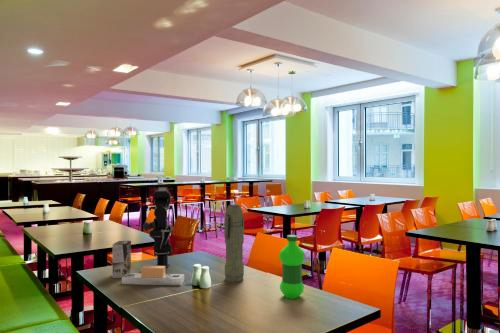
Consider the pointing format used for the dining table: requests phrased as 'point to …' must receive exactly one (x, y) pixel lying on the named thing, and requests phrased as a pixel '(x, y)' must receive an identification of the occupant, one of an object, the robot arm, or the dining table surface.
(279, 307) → the dining table surface
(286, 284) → the plastic bottle
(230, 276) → the thermos
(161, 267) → the tapered peach wedge
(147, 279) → the rail
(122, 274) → the coffee box
